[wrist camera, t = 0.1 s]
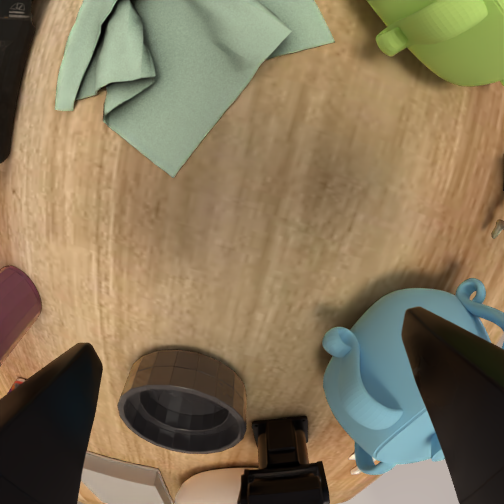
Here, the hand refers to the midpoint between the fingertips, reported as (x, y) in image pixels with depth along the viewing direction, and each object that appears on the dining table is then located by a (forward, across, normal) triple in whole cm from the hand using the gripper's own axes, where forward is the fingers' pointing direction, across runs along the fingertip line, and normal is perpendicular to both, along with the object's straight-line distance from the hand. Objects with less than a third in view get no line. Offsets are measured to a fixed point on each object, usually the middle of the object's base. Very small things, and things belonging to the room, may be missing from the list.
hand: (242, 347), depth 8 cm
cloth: (+15, +3, -14) cm, 21 cm away
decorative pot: (+15, -13, +15) cm, 25 cm away
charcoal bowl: (+15, +9, +18) cm, 25 cm away
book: (+15, +32, +50) cm, 61 cm away
